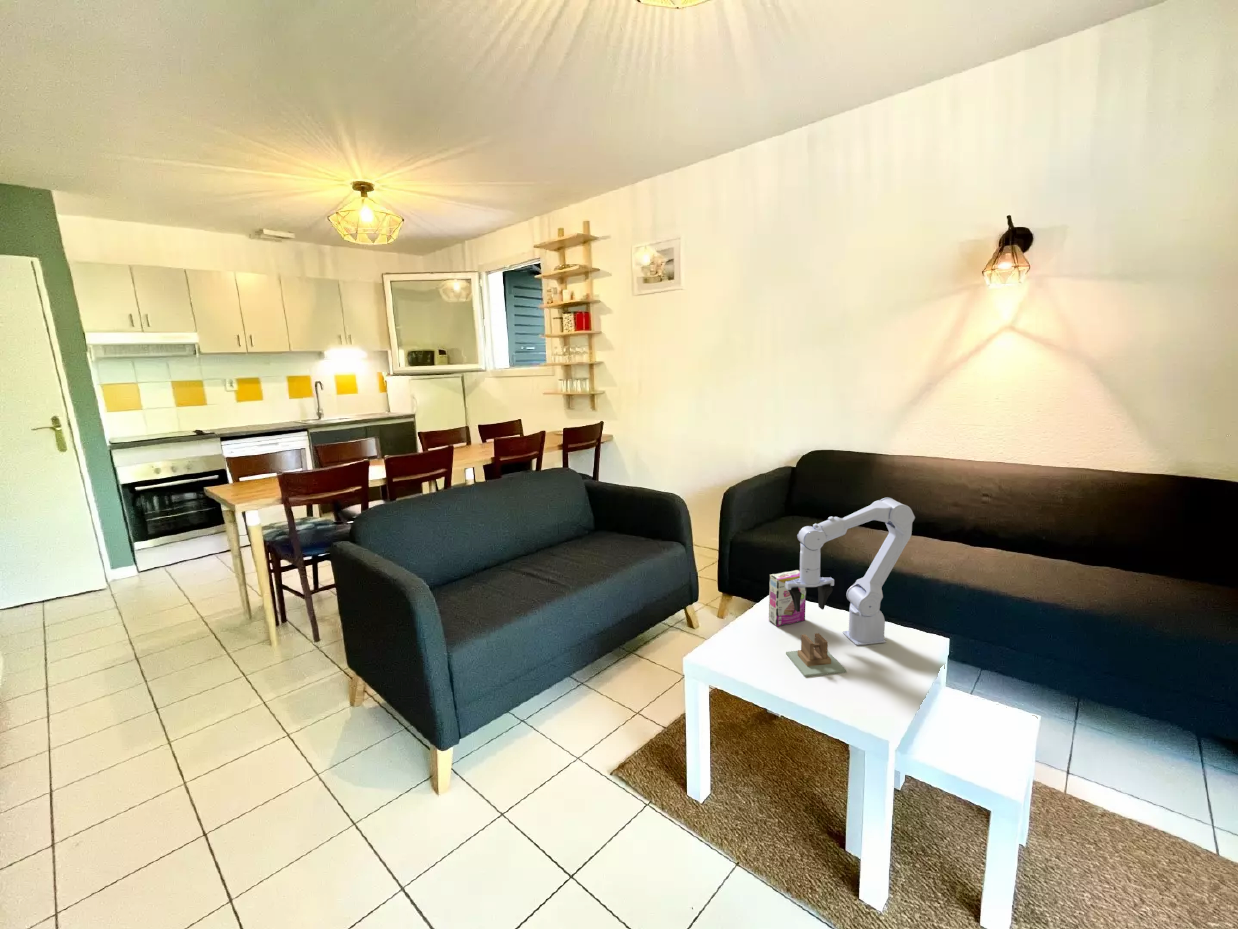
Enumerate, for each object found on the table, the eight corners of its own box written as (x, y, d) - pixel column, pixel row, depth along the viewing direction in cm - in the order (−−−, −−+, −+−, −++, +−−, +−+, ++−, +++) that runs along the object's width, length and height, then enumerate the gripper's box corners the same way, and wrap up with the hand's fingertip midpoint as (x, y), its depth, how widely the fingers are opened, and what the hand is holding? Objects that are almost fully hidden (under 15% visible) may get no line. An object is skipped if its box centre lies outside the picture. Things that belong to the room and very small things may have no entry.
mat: (824, 649, 155) (824, 647, 155) (846, 672, 143) (846, 670, 143) (785, 653, 154) (785, 652, 154) (804, 677, 142) (804, 674, 142)
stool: (820, 652, 152) (820, 632, 151) (830, 663, 147) (831, 642, 145) (797, 655, 152) (797, 634, 151) (807, 666, 146) (807, 645, 145)
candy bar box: (777, 627, 169) (777, 579, 167) (768, 621, 174) (768, 574, 171) (806, 621, 173) (807, 574, 170) (797, 614, 177) (797, 569, 174)
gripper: (826, 560, 161) (825, 601, 164) (781, 564, 160) (780, 605, 162) (838, 568, 154) (837, 611, 157) (791, 572, 153) (790, 616, 155)
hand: (809, 609), depth 159 cm, fingers open, 7 cm apart
